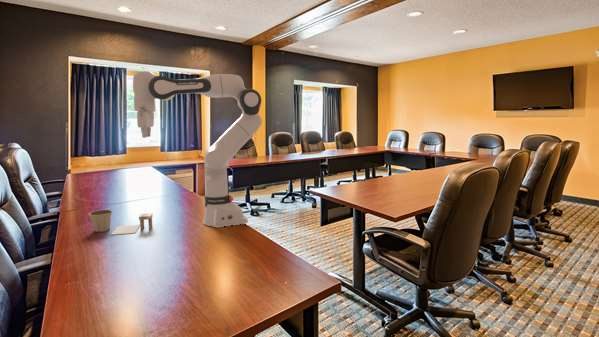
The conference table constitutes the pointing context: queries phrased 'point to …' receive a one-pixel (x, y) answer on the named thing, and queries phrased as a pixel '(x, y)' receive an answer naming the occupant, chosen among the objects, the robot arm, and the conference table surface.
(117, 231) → the mat
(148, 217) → the stool
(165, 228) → the conference table surface
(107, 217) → the flower pot
